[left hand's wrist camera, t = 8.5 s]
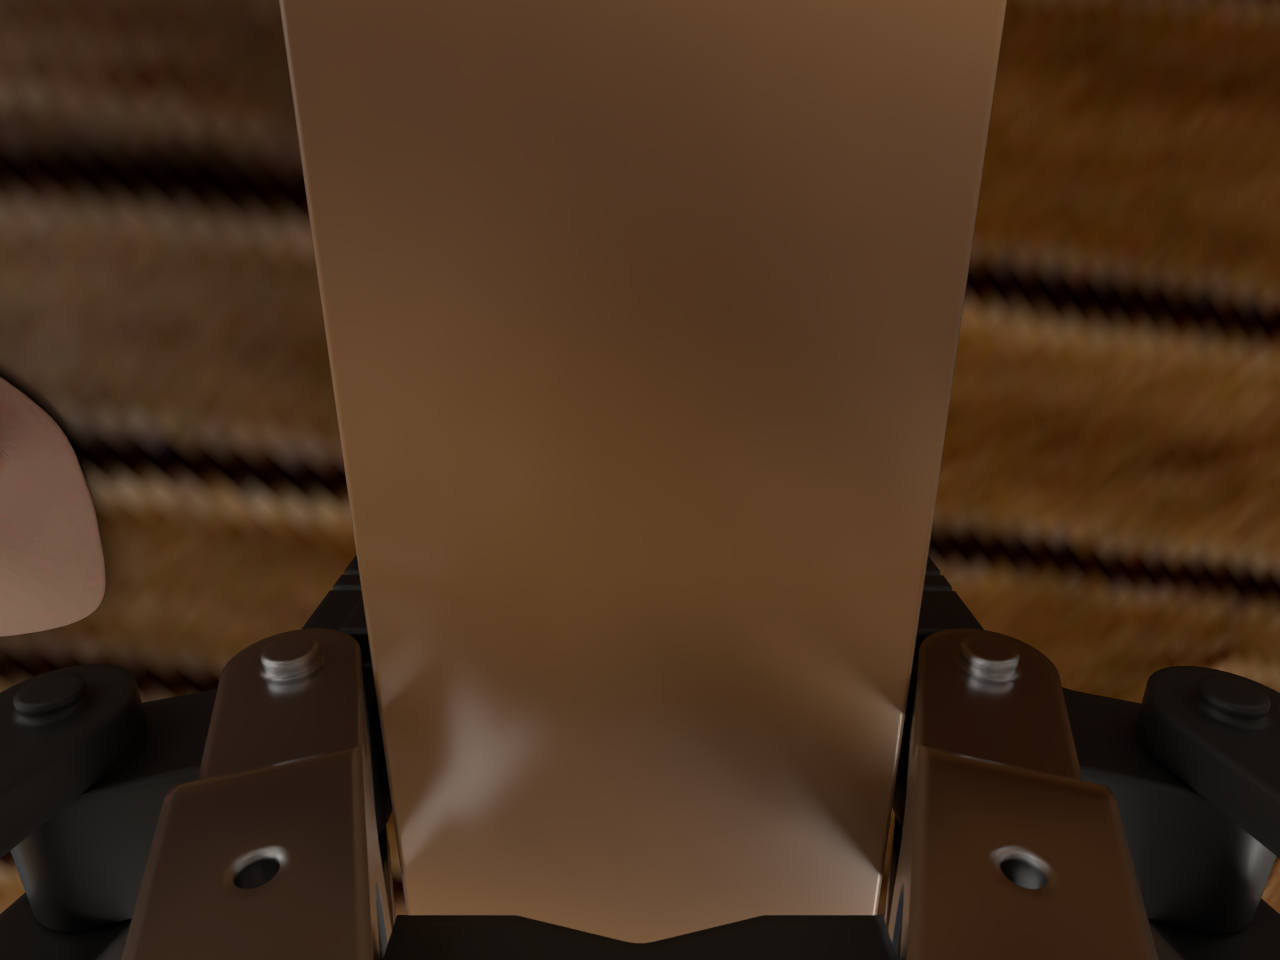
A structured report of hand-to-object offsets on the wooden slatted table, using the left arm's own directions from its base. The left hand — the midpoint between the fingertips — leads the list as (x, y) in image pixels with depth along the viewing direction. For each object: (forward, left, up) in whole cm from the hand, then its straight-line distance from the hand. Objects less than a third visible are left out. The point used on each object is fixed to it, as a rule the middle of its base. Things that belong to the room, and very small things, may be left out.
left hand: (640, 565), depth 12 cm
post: (+23, +5, -2) cm, 24 cm away
